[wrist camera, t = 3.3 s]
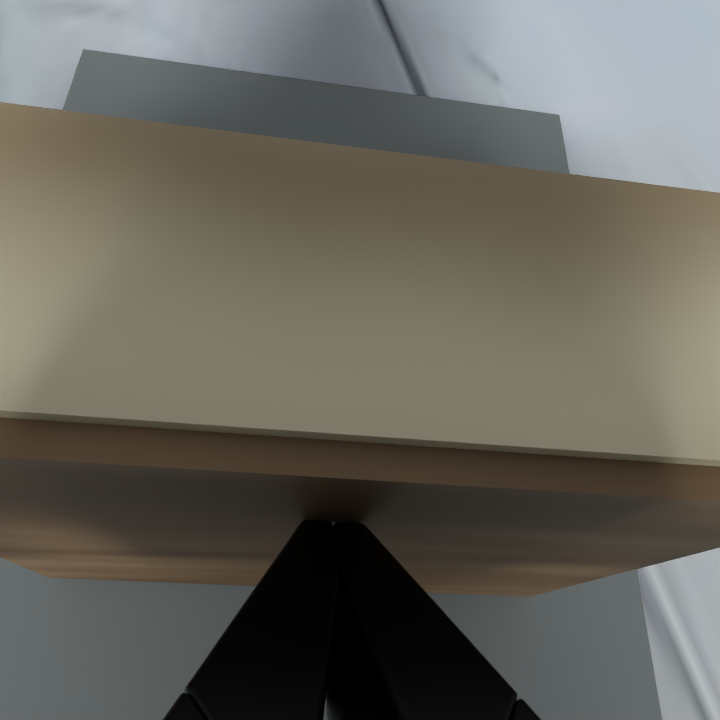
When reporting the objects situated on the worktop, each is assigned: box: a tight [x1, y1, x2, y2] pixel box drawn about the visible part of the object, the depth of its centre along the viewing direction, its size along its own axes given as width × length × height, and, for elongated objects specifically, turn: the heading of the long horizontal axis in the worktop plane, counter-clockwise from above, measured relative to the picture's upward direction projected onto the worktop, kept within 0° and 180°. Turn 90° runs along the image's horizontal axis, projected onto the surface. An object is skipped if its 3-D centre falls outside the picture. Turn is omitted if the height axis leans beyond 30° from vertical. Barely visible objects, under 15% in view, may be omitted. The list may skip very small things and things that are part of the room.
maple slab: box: [0, 102, 720, 597], centre depth 11 cm, size 4×12×10 cm, turn 88°
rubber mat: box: [0, 49, 662, 720], centre depth 18 cm, size 21×18×1 cm
